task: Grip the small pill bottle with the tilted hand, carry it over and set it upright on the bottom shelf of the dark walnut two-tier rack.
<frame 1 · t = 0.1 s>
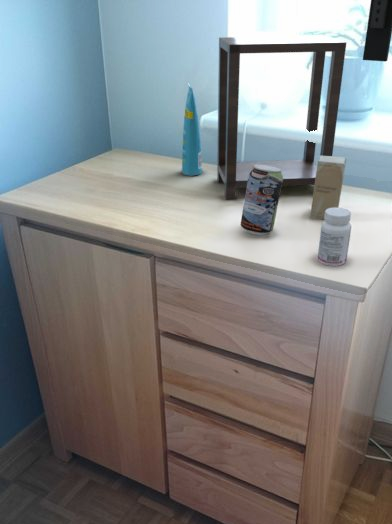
hand: (391, 54, 70), 31 cm above the table, tool pointing down, fingers open, 13 cm apart
tube: (191, 173, 134), on the table
box: (324, 216, 110), on the table
pill bottle: (331, 261, 93), on the table
beverage can: (259, 232, 103), on the table
rack: (270, 187, 125), on the table
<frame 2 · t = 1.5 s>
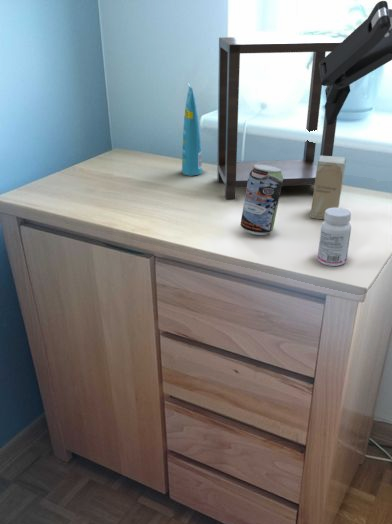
hand: (381, 114, 70), 25 cm above the table, tool tilted 45°, fingers open, 13 cm apart
nothing on the table moved.
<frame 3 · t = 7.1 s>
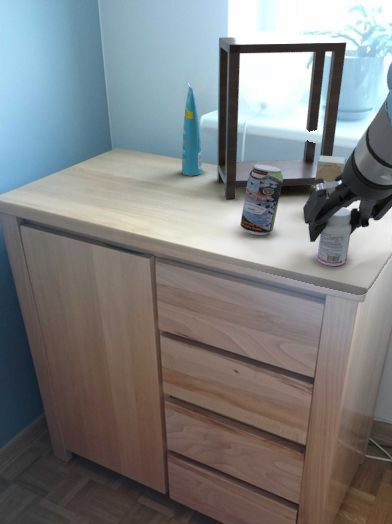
hand: (327, 233, 94), 3 cm above the table, tool tilted 45°, fingers closed on pill bottle, 5 cm apart
pill bottle: (331, 261, 93), on the table, touching gripper
everything else where it was.
when the fingers open (12 cm above the table, at t = 18.7 s): pill bottle stays where it is, resting on rack.
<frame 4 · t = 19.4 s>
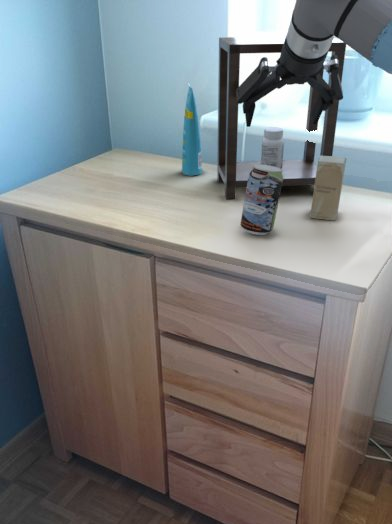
hand: (281, 119, 112), 15 cm above the table, tool tilted 45°, fingers open, 13 cm apart
pill bottle: (271, 170, 122), point 4 cm above the table, touching rack
everything else where it was.
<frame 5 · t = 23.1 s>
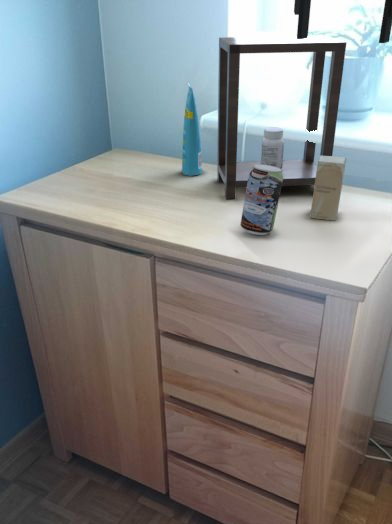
hand: (341, 40, 89), 31 cm above the table, tool pointing down, fingers open, 13 cm apart
nothing on the table moved.
at the end: pill bottle inside the target area on the rack (0.0 cm from its centre), point 3.8 cm above the rack's base; pill bottle tilted 0°; the gripper is holding nothing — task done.
